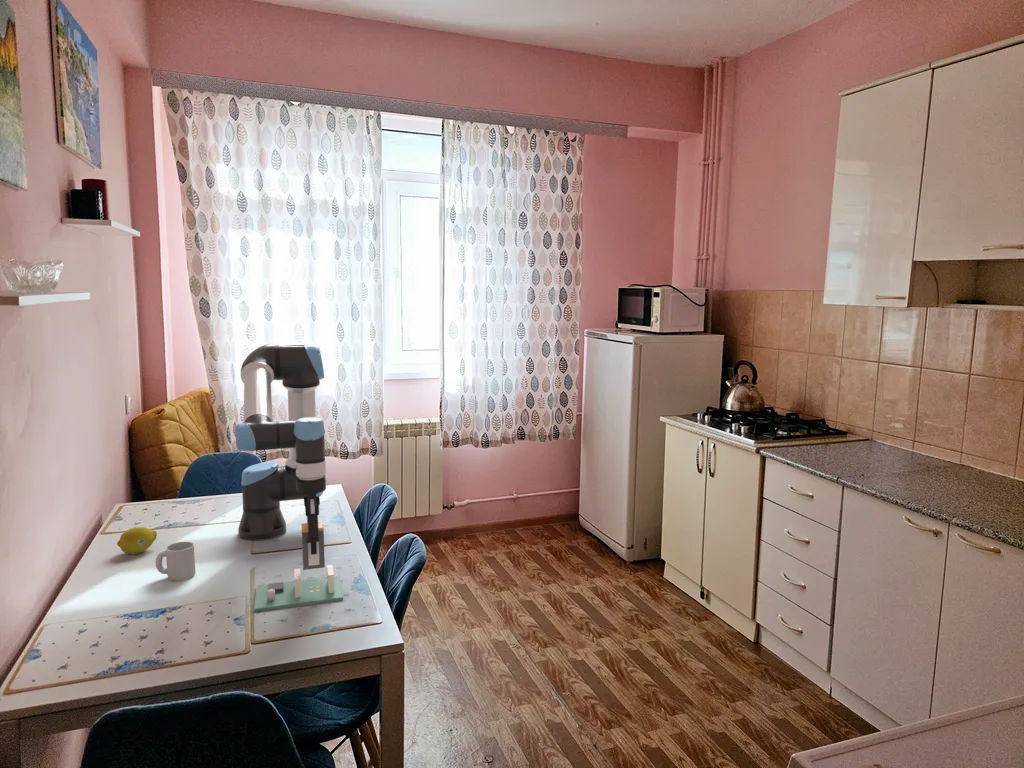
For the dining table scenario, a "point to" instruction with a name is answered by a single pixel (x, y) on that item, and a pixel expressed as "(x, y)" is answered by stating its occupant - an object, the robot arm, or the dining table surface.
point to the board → (299, 592)
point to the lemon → (136, 540)
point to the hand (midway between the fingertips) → (313, 560)
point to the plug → (305, 546)
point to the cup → (178, 561)
